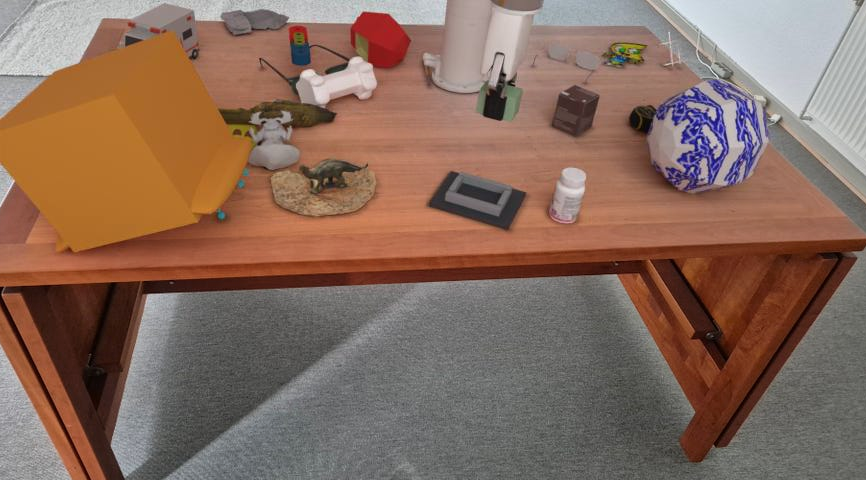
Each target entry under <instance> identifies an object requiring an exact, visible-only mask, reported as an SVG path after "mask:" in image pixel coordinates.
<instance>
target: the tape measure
mask: <svg viewBox="0 0 866 480" xmlns="http://www.w3.org/2000/svg"><path fill="white" fill-rule="evenodd" d="M657 109H658V108H657ZM657 109H656V107H654V106H653V105H652V104H648V105H637V106H636V107H635V108H633V109H632V110H631V112H630V114H629V118H628V121H629V125H630V126H631V127H632V128H633V129H635V130H636V131H637V132H638V131H639V132H641V133H644V134H648V131H649V128H650V126H651V123H652V120H653V117H654V114H655V112H656V111H657Z"/></svg>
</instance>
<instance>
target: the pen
mask: <svg viewBox="0 0 866 480" xmlns="http://www.w3.org/2000/svg"><path fill="white" fill-rule="evenodd" d="M423 68H424V71H425V75H426V78H427V85H428V87H430V86H431V83H430V78H429V72H428V66H425V65H424V64H423Z"/></svg>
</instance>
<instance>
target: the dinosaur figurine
mask: <svg viewBox="0 0 866 480" xmlns="http://www.w3.org/2000/svg"><path fill="white" fill-rule="evenodd" d="M368 168H369V163H368V162H367V163H365V165H364V164H362V163H352V162H351V161H348V160H345V159H343V158H326V159H323V160H320V161H318V162H317V163H316V164H315V165H313V166H312V167H310V168H309V167H308V166H306V165H305V164H300V165H299V167H298V172H293V171H291V170H288V169H286V170H285V171H278V172H276V173H273V175H272V176H271V177H270V179H269V180H270V185H271V187H272V191H271V192H272V194H273V199H274V202H275V203H276V204H277V205H278V206H280V207H281V208H282V209H286V210H289V211H291V212H294V213H295V214H299V215H303V216H309V217H312V218H314V217H315V218H317V217H322V216H332V215H341V214H347V213H352V212H356V211H358V210H359V209H361V208H362V207H364V206H365V205H366V204H367V202H368V201H370V200H371V199H372V198H373V196H374V194H375V190H376V189H375V188H376V186H378V183H377V179H376V175H375V171H374V170H369V169H368Z"/></svg>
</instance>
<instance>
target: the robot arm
mask: <svg viewBox="0 0 866 480" xmlns="http://www.w3.org/2000/svg"><path fill="white" fill-rule="evenodd" d="M544 1H545V0H446V7H445V16H444V18H445V19H444V25H443V35H442V43H441V44H442V45H441V52H440V54H437V55H436V54H433V53H429V52H424V53H423V55H422V62H423V66H424V65H425V66H427V67H429V68H433V69H432V72H431V81H432V82H433V83H434V85H436V86H437V87H439V88H441V89H443V90H445V91H448V92H452V93H459V94H471V93H472V94H473V93H477V92H478V93H479V90H480V89H481V87H482V86H483V85H484V83H485V82H486V81H487V80H489V82H488V86H487V93H486V98H485V104H484V110H483V115H482V116H483V117H484V118H486V119H491V120H495V121H498V122H501V121H503V120H502V119H503V116H504V111H505V106H506V100H507V97H506V96H505V95H506V90H507V86H508V85H509V86H513V87H516V84H515V83H516V82H517V76H518V71H519V70H520V69H521V66H522V65H523V63H524V62H525V60H526V56H527V52H528V49H529V44H530V39H531V33H532V30H533V24H534V17H535V15H536V14H539V13H541V12H542V10H543V6H544ZM488 74H489V76H488ZM499 83H501V84H503V86H501V85H499Z"/></svg>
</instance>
